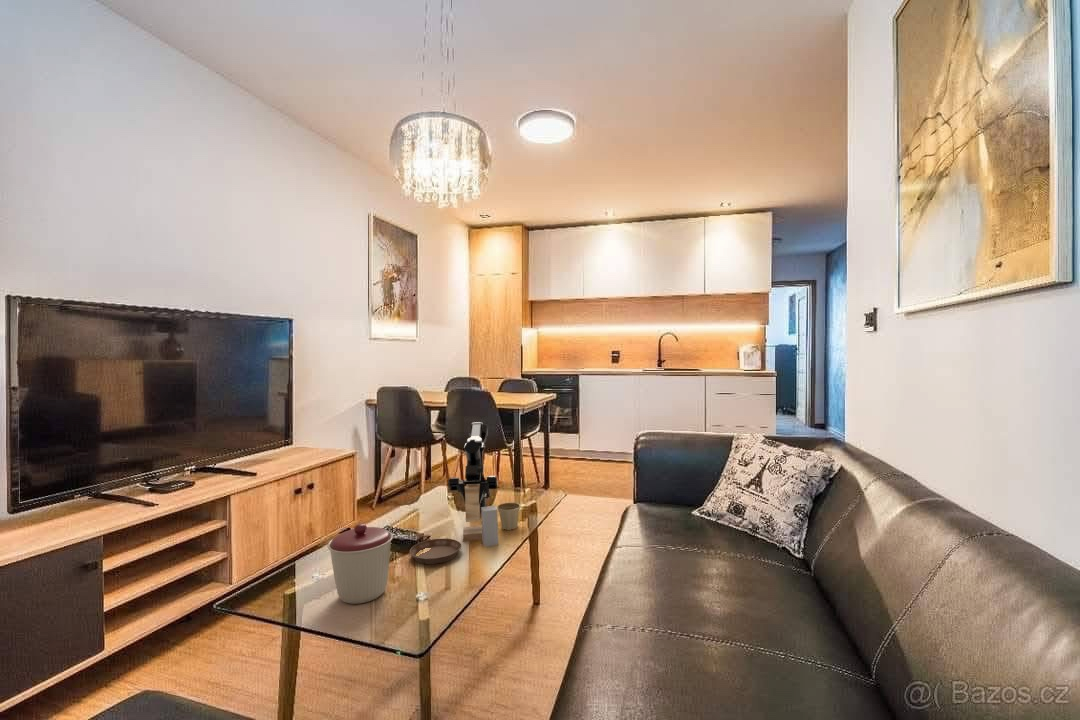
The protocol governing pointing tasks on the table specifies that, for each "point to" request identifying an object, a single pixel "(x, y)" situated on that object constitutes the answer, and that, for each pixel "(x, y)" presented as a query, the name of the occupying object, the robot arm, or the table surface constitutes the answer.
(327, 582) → the table surface
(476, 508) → the oak pillar
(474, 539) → the walnut block
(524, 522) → the table surface
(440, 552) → the plant saucer
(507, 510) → the flower pot
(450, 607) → the table surface
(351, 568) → the canister
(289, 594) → the table surface
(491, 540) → the grey pillar
